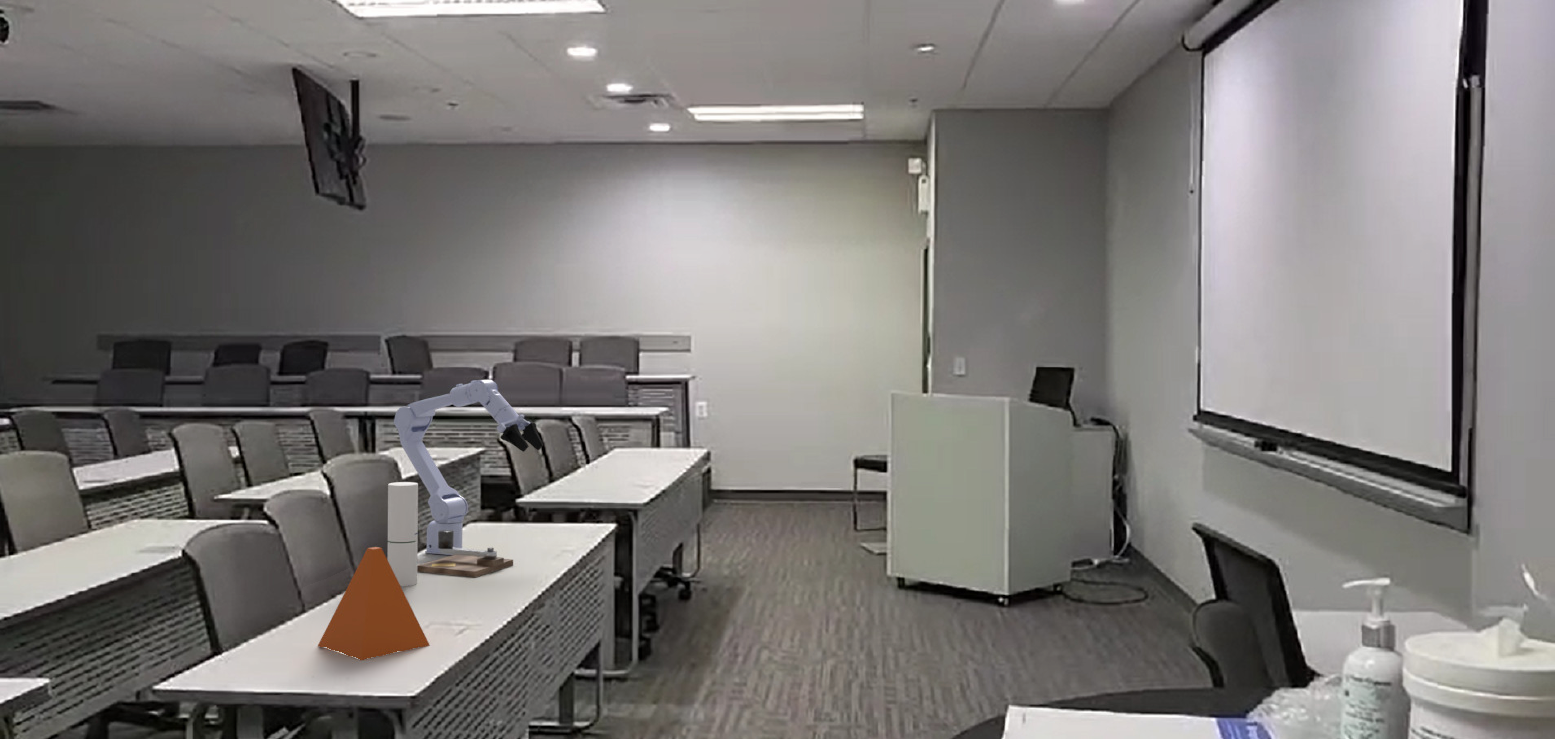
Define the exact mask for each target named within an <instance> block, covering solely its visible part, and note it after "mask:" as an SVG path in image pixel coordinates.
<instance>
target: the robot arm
mask: <svg viewBox="0 0 1555 739" xmlns="http://www.w3.org/2000/svg"><path fill="white" fill-rule="evenodd" d="M476 403H480V404H481V405H482V406H483V407H484V409H485V410H486V411H487V412H488V413H489V415H490V416H491V417H492V418H493V419H494V421H495V422H496V423H497V424H498V425H497V426H496V429H497V431H498V432H499V434H501V435H500V437H499V438H500V439H501V440H503V441H504V442H507V443H509V444H511V445H512V446H513V447H515V448H517V449H518V450H520V451H521V452H523V453H524V452H526V451H527V449H528V448H529V447H530V446H529V444H530V445H531V446H532V447H533V448H534V449H535V450H537V451H539V450H541V449H542V448H543V446H544V443H543V441H542V439H541V437H540V435H539V433H538V428H537V423H535V422H534V421H532V422H531V421H528V420H526V419H525V415H524V414H518V412H516V410H515V409H514V407H512V405H511V404H509V402H508V401H507V400H506V399H505V397H503V395H502V394H501V393H500V391H499V387H498V384H497V383H496V382H495V381H494V380H492V379H478V380H471V381H470V382H469V383H466V384H463V383H458V384H455V387H452V389H451V390H450V391H449V393H446V394H442V395H439V396H433V397H430V398H425V399H422V400H417V401H415V402H411V403H409V404H407V405H406V406H402V407H399V408H398V409H397V410H396V412H395V416H394V418H393V424H394V426H395V428H396V429H397V431H398V436H399V442H400V445H401V447H402V448H403V450H404V453H405V454H406V455H407V457H408V459H409V461H410V462H411V464H412V466H413V467H414V469H415V471H416V472H417V474H418V477H419V478H420V480H421V481H422V483H423V485H424V486H425V488H426V490H427V492H428V493H429V495H430V496H429V498H428V500H427V504H428V506H429V508H430V514H431V517H432V518H433V519H434V520H431V521H430V522H429V523H428V525H427V528H426V550H425V551H424V553H425V554H433V555H444V556H445V555H446V556H453V554H442V553H440V549H439V548H438V531H442V530H452V531H454V542H453V547H455V548H463V521H464V517H465V516H466V515H467V513H468V510H469V504H468V501H467V500H466V499H465V497H463V496H461V495H460V493H459V492H458V490H456V489H455V488H453V487H451V486H449V485H448V483H447V481H446V479H445V478H444V476H443V474H442V473H441V471H440V469H439V468H438V466H437V464H436V462H435V461H434V459H433V458H432V456H431V454H430V453H429V451H428V448H427V447H426V446H425V444H424V442H423V438H424V436H425V434H426V432H427V430H428V429H429V427H430V425H431V423H432V421H433V417H434V416H435V415H436V410H439V409H442V408H445V407H449V406H451V405H453V406H454V407H456V408H462V407H465V406H469V405H472V404H476ZM520 431H522V433H521V432H520ZM528 443H529V444H528Z"/></svg>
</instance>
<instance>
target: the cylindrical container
mask: <svg viewBox="0 0 1555 739" xmlns="http://www.w3.org/2000/svg"><path fill="white" fill-rule="evenodd" d="M418 515H419V483H418V482H413V481H399V482H397V481H396V482H390V483H388V484H387V560H388V562H389V564H390V566H391V568H392V570H393V572H394V574H395V576H396V578H397V580H398V582H399V584H400V586H401V587H410V586H415V585H417V584H418V571H417V565H418V546H419V545H418V543H419V542H418V536H419V535H418V532H419V531H418V526H419V525H418V521H419V518H418V517H419V516H418Z"/></svg>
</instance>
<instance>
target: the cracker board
mask: <svg viewBox="0 0 1555 739" xmlns="http://www.w3.org/2000/svg"><path fill="white" fill-rule="evenodd" d="M512 566H514V559H510V558H504V557H501V556H500V557H499V556H497V557H496V558H485V557H474V556H464V555H448V556H446V557H443V558H438V559H435V560H432V561H428V562H425V563H422V564H417V573H418V572H419V573H420V572H421V573H429V574H439V575H450V576H459V577H469V578H477V577H480V576H483V575H484V576H485V575H487V574H491V573H494V572H496V571H499V570H500V571H501V570H503V569H505V568H508V567H509V568H510V567H512Z"/></svg>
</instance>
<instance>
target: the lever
mask: <svg viewBox="0 0 1555 739" xmlns="http://www.w3.org/2000/svg"><path fill="white" fill-rule="evenodd" d="M453 542H454V531H452V530H442V531H438V548H439V549H440V553H442V554H441V555H443V554H453V555H464V556H474V557H485V558H496V557H498V556H497V554H498V553H497V550H494V549H495V548H494V547H487V549H477V548H475V549H474V548H465V547H462V548H455V547H453ZM453 555H452V556H453Z"/></svg>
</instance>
